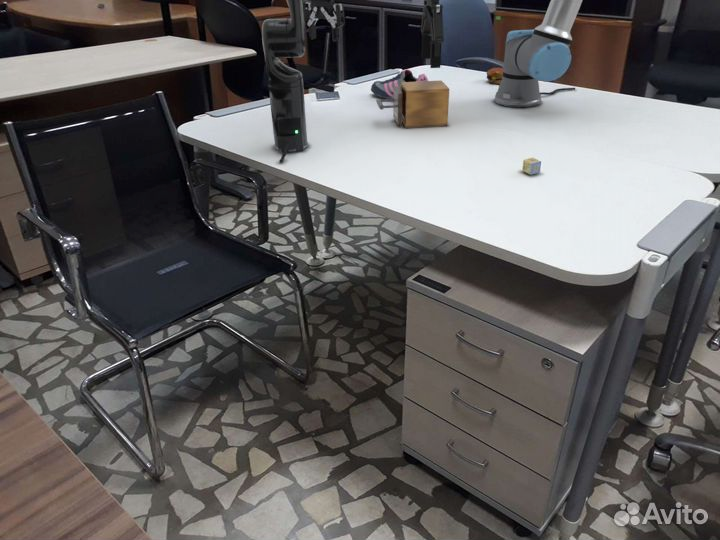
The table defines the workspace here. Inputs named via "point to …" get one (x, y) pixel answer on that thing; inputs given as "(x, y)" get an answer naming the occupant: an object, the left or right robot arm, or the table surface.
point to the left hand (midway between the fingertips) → (324, 39)
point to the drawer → (396, 104)
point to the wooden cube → (426, 104)
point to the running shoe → (394, 83)
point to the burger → (495, 75)
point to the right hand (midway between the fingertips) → (430, 63)
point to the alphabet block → (531, 166)
